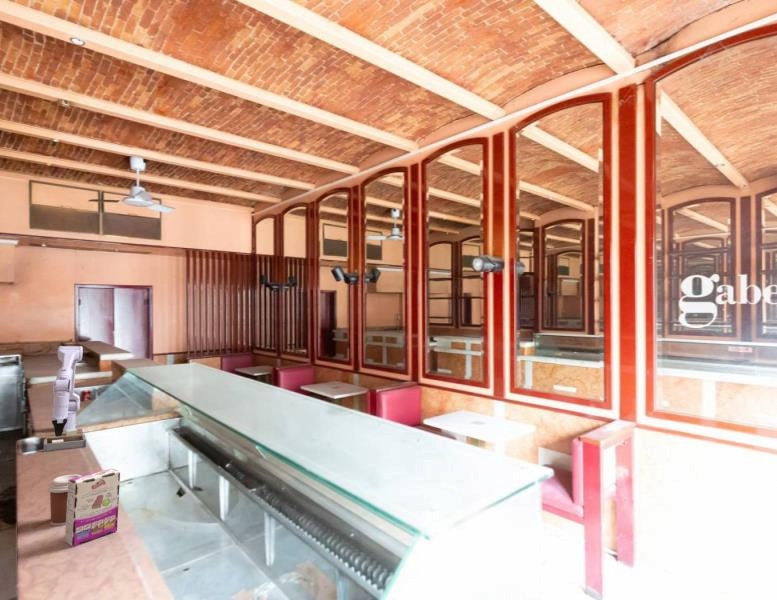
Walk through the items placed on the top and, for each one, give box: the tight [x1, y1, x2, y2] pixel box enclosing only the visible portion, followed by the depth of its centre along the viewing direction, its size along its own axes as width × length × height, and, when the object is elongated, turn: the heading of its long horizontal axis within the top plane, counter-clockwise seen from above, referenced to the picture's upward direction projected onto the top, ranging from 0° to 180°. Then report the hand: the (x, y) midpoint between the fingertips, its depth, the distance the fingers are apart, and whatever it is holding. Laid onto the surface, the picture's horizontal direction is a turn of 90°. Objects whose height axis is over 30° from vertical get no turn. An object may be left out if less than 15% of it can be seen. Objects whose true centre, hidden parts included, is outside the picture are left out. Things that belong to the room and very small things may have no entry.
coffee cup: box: [46, 473, 82, 527], centre depth 128 cm, size 9×9×12 cm
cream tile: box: [52, 439, 63, 443], centre depth 197 cm, size 4×4×2 cm
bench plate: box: [45, 428, 84, 444], centre depth 209 cm, size 14×14×2 cm
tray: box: [43, 433, 87, 453], centre depth 198 cm, size 12×15×3 cm
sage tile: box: [66, 428, 78, 436], centre depth 208 cm, size 4×4×2 cm
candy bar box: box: [64, 468, 121, 548], centre depth 119 cm, size 11×5×16 cm, turn 148°
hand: (58, 436), depth 200 cm, fingers closed
